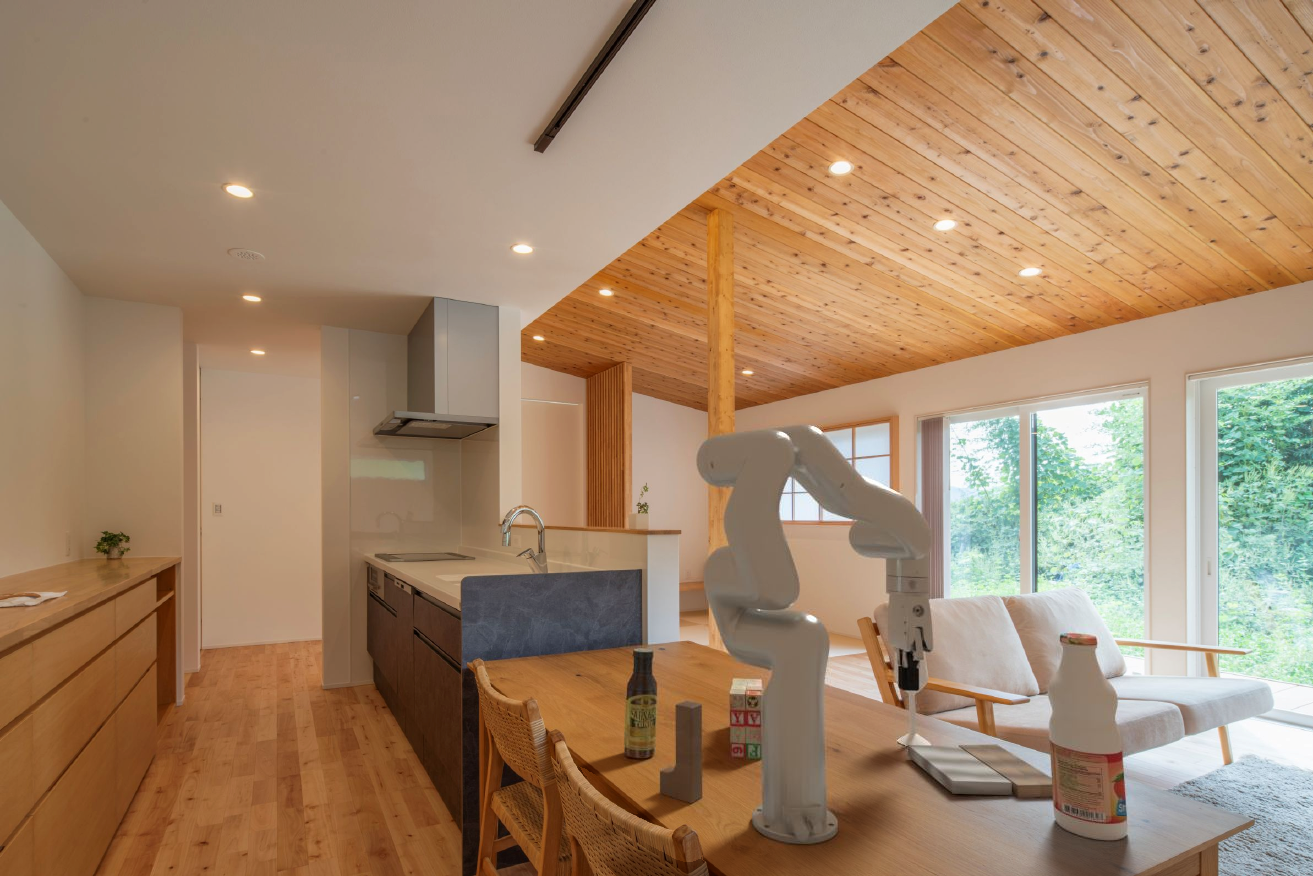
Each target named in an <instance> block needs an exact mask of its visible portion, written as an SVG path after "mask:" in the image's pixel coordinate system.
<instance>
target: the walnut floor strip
mask: <svg viewBox="0 0 1313 876" xmlns="http://www.w3.org/2000/svg"><path fill="white" fill-rule="evenodd" d="M958 746H959V747H960V748H962V749H963V750H965V751H966V752H968V753H969V754H971V755H972V756H974V757H975V758H976V759H978V760H979V761H981V762H982V763H984V764H985V765H987V766H988V767H990V768H991V769H993V770H994V771H996V772H997V773H999V774H1000V775H1001V776H1003V777H1004V778H1006V779H1007V780H1009V781H1010V782H1012V795H1013V796H1015V797H1016V798H1017V799H1027V798H1028V799H1033V798H1035V797H1042V798H1053V791H1052V776H1051V775H1050V776H1049V775H1048V774H1046V773H1045V772H1043V771H1041V770H1040V769H1038V768H1036V767H1035V766H1032V765H1031V764H1030V763H1028V762H1027V761H1025V760H1023V759H1021V758H1020V757H1018V756H1016V755H1015V754H1013V753H1012V752H1010V751H1008V750H1007V749H1005V748H1003V747H1002V746H1000V745H999V744H995V743H994V744H993V743H992V744H991V743H989V744H958Z"/></svg>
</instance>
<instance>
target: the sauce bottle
mask: <svg viewBox="0 0 1313 876" xmlns="http://www.w3.org/2000/svg"><path fill="white" fill-rule="evenodd" d="M632 657H633V668H632V674H631V676H630V677H629V681H628V682H627V683H626V686H627V687H626V698H625V708H624V709H625V711H624V734H623V737H624V738H623V745H624V748H623V749H624V755H625V756H626V757H628V758H631V759H636V760H637V759H640V760H641V759H642V760H643V759H647V758H652V757H653V756H654V755H655V752H656V751H655V750H656V749H655V748H656V746H657V725H658V723H657V722H658V721H657V720H658V719H657V718H658V717H657V716H658V683H657V681H656V678H655V676H654V674H653V672H654V671H653V658H654V650H653V649H651V648H644V647H643V648H642V647H640V648H634V649H633V651H632Z"/></svg>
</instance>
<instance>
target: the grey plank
mask: <svg viewBox="0 0 1313 876" xmlns="http://www.w3.org/2000/svg"><path fill="white" fill-rule="evenodd" d="M907 756H908V757H909V759H910V760H912V761H913V762H915V763H916V764H917V765H918V766H919V767H920V768H922V769H923V770H924V771H925V772H926V773H928V774H929V775H930V776H931V777H933V779H935V780H936V781H937V782H939V783H940V784H941V786H943V787H945V788H946V789H947V790H948V791H949V792H951V793H952V794H953V795H955V794H956V795H957V794H959V795H960V794H961V795H995V796H997V795H998V796H999V795H1000V796H1004V795H1005V796H1012V795H1013V794H1012V782H1010V781H1009V780H1007V779H1006V778H1004V777H1003V776H1001V775H1000V774H999V773H997V772H996V771H994V770H993V769H991V768H990V767H988V766H987V765H985V764H984V763H982V762H981V761H979V760H978V759H976V758H975V757H974V756H972V755H971V754H969V753H968V752H966V751H965V750H963V749H962V748H960V747H959V745H957V746H956V745H953V746H952V745H931V746H930V745H908V747H907Z"/></svg>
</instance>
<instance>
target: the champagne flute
mask: <svg viewBox="0 0 1313 876" xmlns="http://www.w3.org/2000/svg"><path fill="white" fill-rule="evenodd" d="M894 651H895V650H894ZM923 656H924V659H923V660H921V661H920V667H919V690H918V691H906V690H903V691H904V692H906V693H907V694H908V706H909V707H908V708H909V709H908V712H909V733H907V734H906V735H903V736H901V737H899V738H898V740H896V742H897V741H898V742H899V743H901V744H904V745H905V746H904V747H906V746H908V745H930V746H932V744H931V742H930V741H929V740H927V739H925V738H924V737H922V736H921V735H919V734H918V733H917V718H916V717H917V716H916V694H918V693H919V692H921V691H922V690H923V688H925V686H926V685H928V681H929V672H928V664H927V658H926V656H927V655H926V652H925V651H923ZM898 666H901V665H898V663H897V652H896V651H895V653H894V666H893V667H894V669H893V670H894V671H893V677H894V679H895V682H896V683H897V684H898Z"/></svg>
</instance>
